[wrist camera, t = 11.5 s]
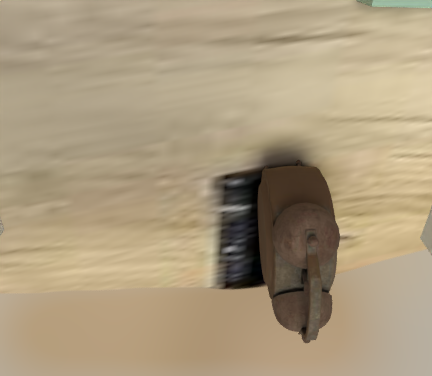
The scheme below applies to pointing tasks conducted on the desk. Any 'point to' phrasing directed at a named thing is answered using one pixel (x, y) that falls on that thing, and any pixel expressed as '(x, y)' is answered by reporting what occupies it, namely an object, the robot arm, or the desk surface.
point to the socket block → (398, 3)
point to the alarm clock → (298, 246)
